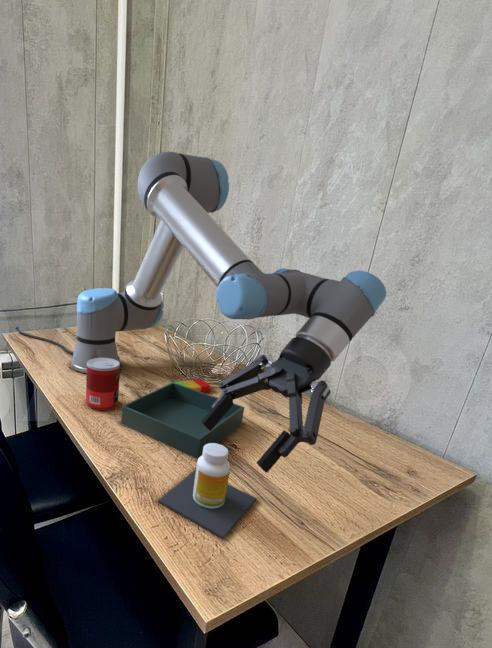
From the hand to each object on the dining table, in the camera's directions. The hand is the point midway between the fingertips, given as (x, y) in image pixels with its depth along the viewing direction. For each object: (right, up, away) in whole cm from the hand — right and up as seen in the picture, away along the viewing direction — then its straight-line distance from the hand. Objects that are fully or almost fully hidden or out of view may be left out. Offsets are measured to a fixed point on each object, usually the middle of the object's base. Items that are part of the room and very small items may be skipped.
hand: (231, 445), depth 66 cm
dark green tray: (-5, 0, +27) cm, 27 cm away
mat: (-4, -10, +2) cm, 11 cm away
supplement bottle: (-3, -9, +2) cm, 10 cm away
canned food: (-24, +4, +34) cm, 42 cm away
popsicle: (-3, +6, +45) cm, 45 cm away
